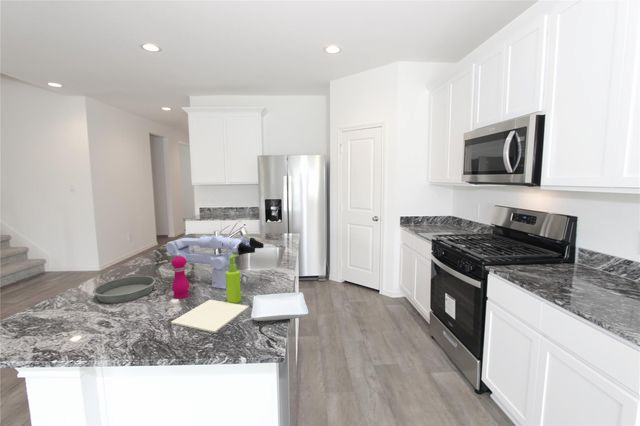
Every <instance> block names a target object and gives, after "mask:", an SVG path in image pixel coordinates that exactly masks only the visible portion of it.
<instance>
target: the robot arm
mask: <svg viewBox="0 0 640 426" xmlns="http://www.w3.org/2000/svg"><path fill="white" fill-rule="evenodd" d="M191 246H198V247H200V248H202V249H204V248H205V249H213V250H215V251H216V250H218V249H221V250H227V251H232V252H226V253H217V254H216V253H215V254H213V253H203V252H195V251H192V249H191ZM165 249H166V252H167V253H168V254H169V256H173V257H176V254H177V253H180V256H183V257H184V258H185V259H186V263H192V264H193V263H194V264H201V265H208V266H209V265H210V267H211V268H213V269H212V271H211V282H212V284H211V285H210V286H211V288H218V289H222V290H226V274H225V272H226V271H228V264H229V263H230V259H228V257H229V256H231V255H234V254H233V253H238V254H237V255H239V256H242V255H245V254H254V253H256V249H264V242H260V241H258V239H256V238H254V237H250V238H249V239H245V237H244V236H241V237H240V238H235V237H225V236H224V235H222V234H219V235H217V236H215V235H214V234H213V235H212V234H211V236H210V235H207V234H203V235H201V236H200V237H199V238H196V237H195V238H194V237H181V238H178V239H176V240H172V241H168V242H167V243H166V245H165ZM235 258H236V257H234V262H235V261H236V259H235Z"/></svg>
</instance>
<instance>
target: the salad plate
mask: <svg viewBox="0 0 640 426" xmlns="http://www.w3.org/2000/svg"><path fill="white" fill-rule="evenodd" d="M308 314H309V310H308V306H307V304H306V301H305V295H304V293H303V292H301V291H300V292H298V291H297V292H284V293H283V292H282V293H270V294H269V293H268V294H257V295H254V296H253V299H252V310H251V316H250V318H251V319H252V320H253V321H256V322H257V321H258V322H267V321H269V322H270V321H282V320H291V319H301V318H305V317H306V316H308Z"/></svg>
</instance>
